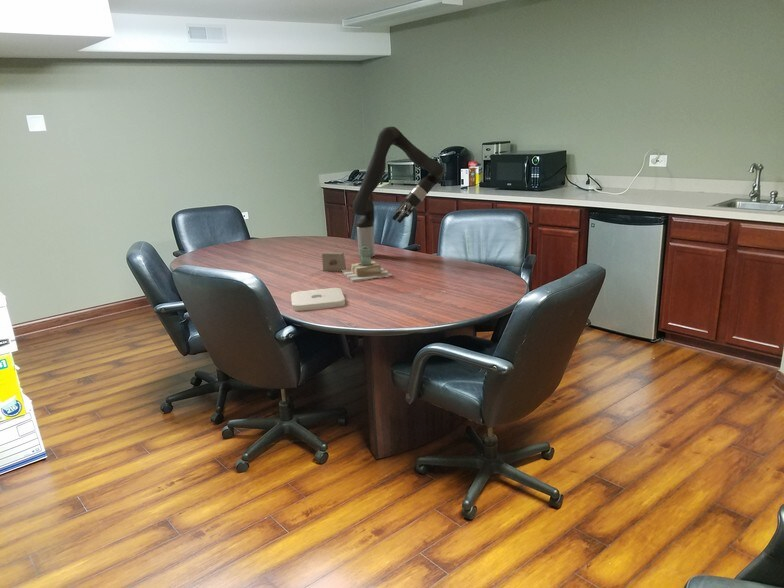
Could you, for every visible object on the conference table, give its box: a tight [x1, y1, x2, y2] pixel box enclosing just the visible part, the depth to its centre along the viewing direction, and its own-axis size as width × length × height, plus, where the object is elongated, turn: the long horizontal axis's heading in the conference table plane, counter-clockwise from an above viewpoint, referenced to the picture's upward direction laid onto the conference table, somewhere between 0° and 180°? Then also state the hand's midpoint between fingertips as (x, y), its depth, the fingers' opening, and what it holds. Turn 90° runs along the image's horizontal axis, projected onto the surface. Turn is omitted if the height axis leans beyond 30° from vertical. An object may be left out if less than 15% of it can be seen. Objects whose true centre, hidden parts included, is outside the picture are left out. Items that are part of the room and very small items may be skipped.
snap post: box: [358, 246, 372, 266], centre depth 287 cm, size 4×4×9 cm
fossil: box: [321, 251, 347, 272], centre depth 300 cm, size 12×4×10 cm, turn 70°
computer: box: [290, 287, 346, 312], centre depth 249 cm, size 22×22×3 cm
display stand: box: [341, 260, 393, 283], centre depth 289 cm, size 22×20×5 cm
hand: (395, 220), depth 296 cm, fingers open, 8 cm apart
